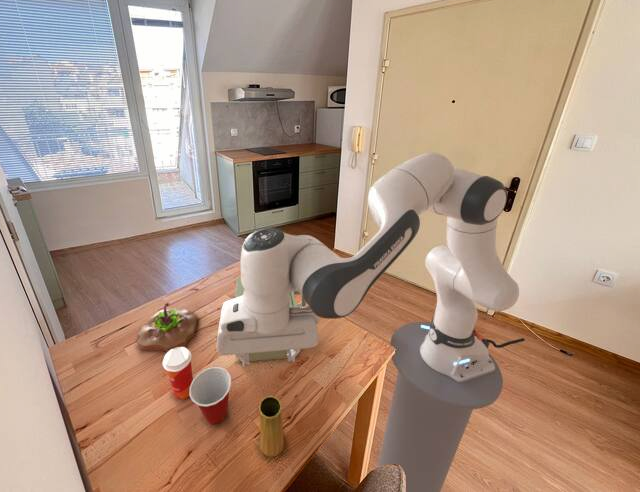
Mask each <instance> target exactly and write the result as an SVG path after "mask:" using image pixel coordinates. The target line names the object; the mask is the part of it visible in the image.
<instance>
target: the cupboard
mask: <svg viewBox="0 0 640 492" xmlns="http://www.w3.org/2000/svg"><path fill="white" fill-rule="evenodd" d="M235 283H236V285H235V298H237V297H240V296H242V295H243V293H244V288H243V285H242V282H241V277H236V282H235ZM290 308H293V305H292V300H291V295H290ZM287 351H289V350H280V351H269V352H257V353H246V354H249V358H250V362H256V361H257V362H258V361H266V360H269V361H270V360H280V359H287ZM238 363H242V362H241V361H240V360H239V359H238Z"/></svg>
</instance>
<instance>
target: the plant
mask: <svg viewBox="0 0 640 492" xmlns="http://www.w3.org/2000/svg"><path fill="white" fill-rule="evenodd" d="M170 304H171V303H170V302H168V301H167V302H165V303H164V307H163V309H160V310H159V311H157V312H156V313H155V314H154V315H152V316H151V317H149V318H148V320H147V322H146V324H145V325H143V326H141V327H140V331H138V333H137V336H138V339H137V341H136V343H137V346H138V348H140V349H141V350H143V351H148V352H149V351H162V352H166V353H167V352H168V351H169V350H171V349H175V348H177V347H180V348H181V347H185V348H186V346H187V343H188V342H189V341H190V340H191V339H193V338H194V336H195V333H196V329H197V324H198V319H199V318H198V314H196V313H194V312H193V311H191V310H189V309H187V308H180V307H174V308H168V309H167V307H170Z"/></svg>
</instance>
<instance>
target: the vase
mask: <svg viewBox="0 0 640 492" xmlns="http://www.w3.org/2000/svg"><path fill="white" fill-rule="evenodd" d="M282 408H283V407H282V402H281V400H280V399H279V398H278V397H276V396H274V395H273V396H272V395H267V396H265V397H263V398H262V399H261V400H260V403H259V408H258V413H259V415H258V416H259V437H260V439H259V449H260V451H261V452H262V453H263V454H264V455H265V456H266V457H270V458H271V457H272V458H273V457H277V456H278V455H280V454H281V452H282V451H283V450H284V445H285V440H284V428H283V427H284V426H283V413H282V410H283V409H282Z"/></svg>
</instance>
